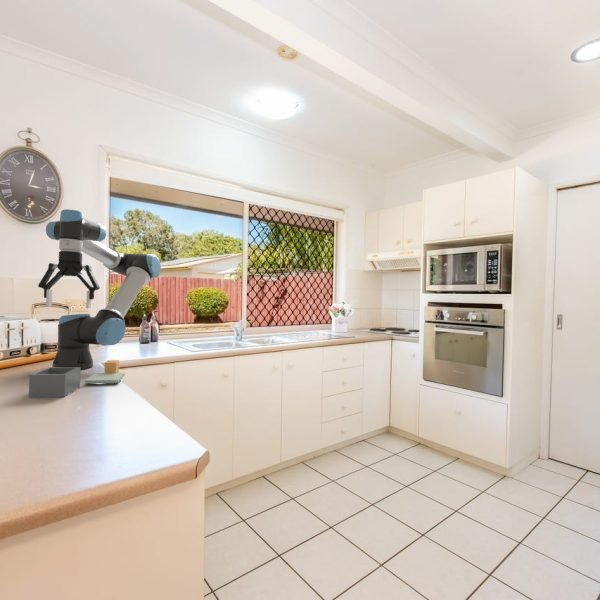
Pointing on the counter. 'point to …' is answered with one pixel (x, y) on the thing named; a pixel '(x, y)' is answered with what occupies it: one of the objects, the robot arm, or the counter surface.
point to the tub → (54, 382)
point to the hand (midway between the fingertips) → (68, 307)
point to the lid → (107, 374)
